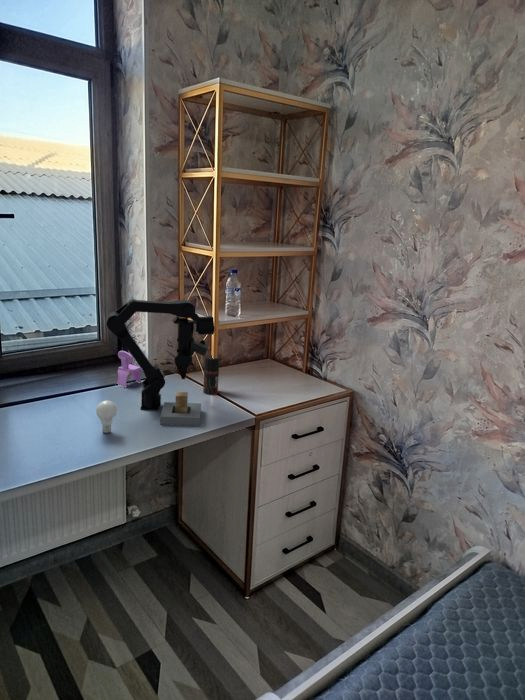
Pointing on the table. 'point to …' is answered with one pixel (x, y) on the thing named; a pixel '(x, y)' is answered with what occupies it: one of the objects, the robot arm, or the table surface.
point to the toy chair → (127, 369)
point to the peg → (181, 402)
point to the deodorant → (211, 375)
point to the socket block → (180, 415)
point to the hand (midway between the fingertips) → (184, 375)
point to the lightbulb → (106, 414)
